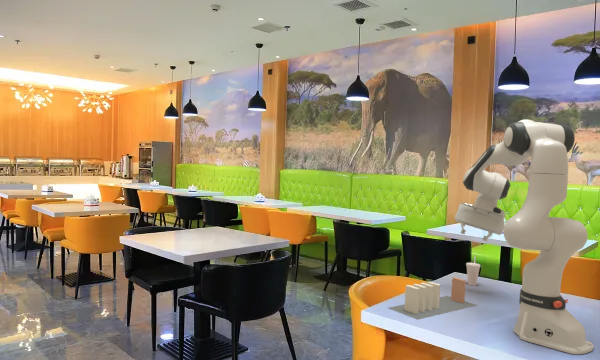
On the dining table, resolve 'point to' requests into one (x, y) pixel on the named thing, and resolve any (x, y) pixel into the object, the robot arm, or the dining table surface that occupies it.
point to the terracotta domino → (458, 290)
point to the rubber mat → (444, 307)
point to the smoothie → (472, 272)
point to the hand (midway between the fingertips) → (473, 237)
